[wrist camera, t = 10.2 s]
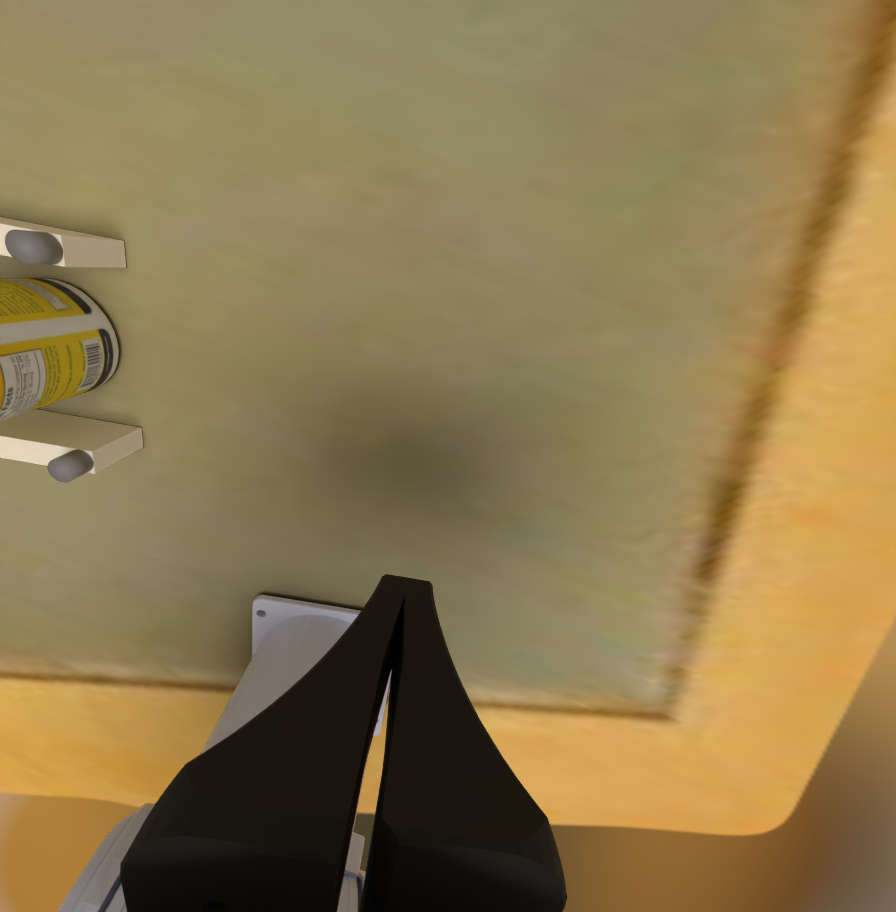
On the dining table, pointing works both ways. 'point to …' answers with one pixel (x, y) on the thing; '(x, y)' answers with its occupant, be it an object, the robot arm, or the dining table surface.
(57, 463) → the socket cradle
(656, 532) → the dining table surface
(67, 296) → the supplement bottle
